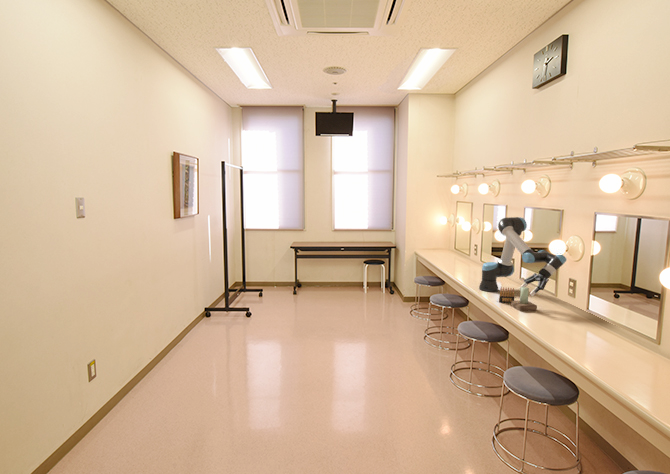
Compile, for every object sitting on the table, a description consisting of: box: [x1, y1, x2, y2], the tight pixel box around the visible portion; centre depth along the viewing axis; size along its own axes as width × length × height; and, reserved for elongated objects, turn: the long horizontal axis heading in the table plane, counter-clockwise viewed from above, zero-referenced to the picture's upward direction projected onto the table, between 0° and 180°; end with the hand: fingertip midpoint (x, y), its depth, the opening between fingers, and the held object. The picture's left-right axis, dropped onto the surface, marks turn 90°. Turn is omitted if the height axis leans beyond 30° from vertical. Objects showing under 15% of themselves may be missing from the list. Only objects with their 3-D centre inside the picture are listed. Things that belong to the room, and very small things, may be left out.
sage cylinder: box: [519, 287, 530, 304], centre depth 258 cm, size 5×5×11 cm
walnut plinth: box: [510, 300, 538, 312], centre depth 259 cm, size 12×12×4 cm
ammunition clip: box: [498, 286, 515, 304], centre depth 272 cm, size 11×2×12 cm, turn 82°
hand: (525, 292), depth 257 cm, fingers open, 13 cm apart
